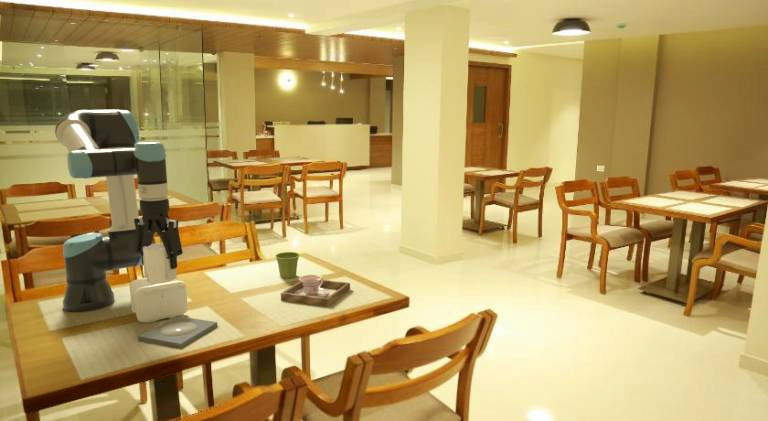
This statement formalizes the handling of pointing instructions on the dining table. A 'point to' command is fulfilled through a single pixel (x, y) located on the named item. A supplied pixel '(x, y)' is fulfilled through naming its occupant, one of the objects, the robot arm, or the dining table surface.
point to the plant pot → (287, 264)
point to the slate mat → (178, 331)
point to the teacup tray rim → (290, 296)
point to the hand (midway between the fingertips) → (160, 277)
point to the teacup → (312, 286)
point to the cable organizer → (158, 299)
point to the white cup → (155, 263)
